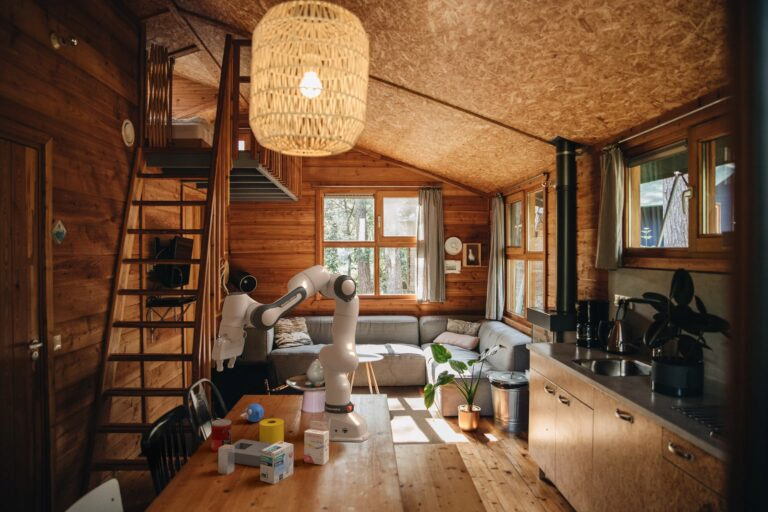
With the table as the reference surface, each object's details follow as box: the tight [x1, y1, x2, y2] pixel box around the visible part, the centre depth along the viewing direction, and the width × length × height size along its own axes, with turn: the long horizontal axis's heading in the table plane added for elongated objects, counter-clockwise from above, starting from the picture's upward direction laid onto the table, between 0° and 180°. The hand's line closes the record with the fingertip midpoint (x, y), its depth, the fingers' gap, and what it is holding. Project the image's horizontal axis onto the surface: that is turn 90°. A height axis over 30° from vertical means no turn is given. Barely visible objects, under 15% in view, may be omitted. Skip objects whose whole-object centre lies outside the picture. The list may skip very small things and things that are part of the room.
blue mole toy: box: [239, 403, 265, 423], centre depth 233 cm, size 12×12×8 cm
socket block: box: [231, 438, 274, 468], centre depth 190 cm, size 20×13×4 cm, turn 71°
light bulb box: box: [259, 441, 294, 485], centre depth 173 cm, size 11×7×11 cm, turn 151°
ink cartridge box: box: [303, 420, 330, 466], centre depth 187 cm, size 9×5×15 cm, turn 71°
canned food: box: [210, 418, 232, 453], centre depth 200 cm, size 8×8×11 cm
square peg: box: [217, 444, 235, 475], centre depth 177 cm, size 4×4×9 cm
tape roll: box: [259, 417, 285, 444], centre depth 204 cm, size 10×10×9 cm
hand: (225, 369), depth 187 cm, fingers open, 8 cm apart
